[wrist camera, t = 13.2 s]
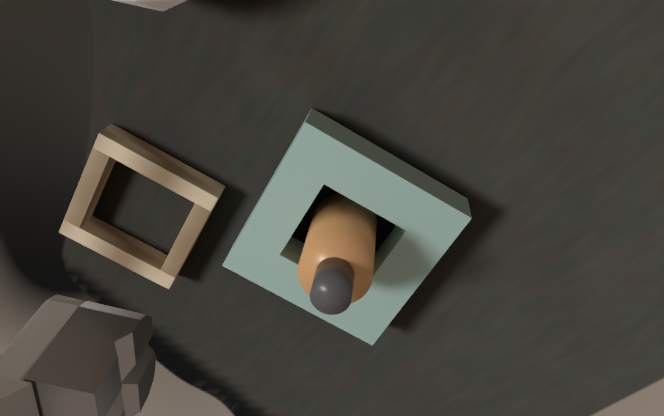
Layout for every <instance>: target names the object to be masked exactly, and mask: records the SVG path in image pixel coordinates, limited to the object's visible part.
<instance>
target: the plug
mask: <svg viewBox="0 0 664 416" xmlns="http://www.w3.org/2000/svg"><path fill="white" fill-rule="evenodd" d="M376 232H377V217H376V214H375V213H374V212H372V211H370V210H369V209H367V208H365V207H363V206H362V205H360V204H358V203H356V202H355V201H353V200H351V199H349V198H347V197H346V196H344V195H342V194H340V193H336V194H332V195H330V196H328V197H326V198H324V199H323V200H322V201H321V202H320V203H319V204H318V205H317V207H316V209H315V211H314V214H313V217H312V220H311V224H310V227H309V231H308V234H307V237H306V241H305V244H304V247H303V251H302V254H301V257H300V261H299V264H298V278H299V282H300V284H301V286H302V288H303V289H304V290H305V292H306V293H307V294H308V295H309V296H310V300H311V303H312V305H313V306H314V307H315V308H316V309H317V310H318V311H320V312H322V313H324V314H328V315H336V314H340V313H342V312H344V311H345V310H347V309H348V307H349V306H350V304H351V303H354V302H356V301H358V300H359V299H361V298H362V297H363V296H364V295H365V294H366V293H367V292H368V290H369V288H370V286H371V284H372V279H373V268H374V256H375V244H376Z"/></svg>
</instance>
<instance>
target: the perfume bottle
mask: <svg viewBox="0 0 664 416" xmlns="http://www.w3.org/2000/svg"><path fill="white" fill-rule="evenodd" d="M113 1H118V2H122V3H127V4H132V5H136V6H141V7H145V8H150V9H155V10H159V11H165V10H167V9H169V8H172V7H174V6H176V5H178V4H180V3H182V2H185V1H187V0H113Z"/></svg>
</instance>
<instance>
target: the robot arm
mask: <svg viewBox="0 0 664 416" xmlns="http://www.w3.org/2000/svg"><path fill="white" fill-rule="evenodd" d="M152 334H153V325H152V317H150V316H148V315H145V314H140V313H136V312H132V311H128V310H123V309H119V308H115V307H110V306H106V305H102V304H98V303H93V302H88V301H83V300H78V299H73V298H70V297H65V296H60V295H55V296H53V297H51V298H50V299H48V300H46V301H45V303H44V304H43V305H42V306H41V307H40V309H39V310H38V311H37V312H36V313H35V315H34V316H33V317H32V318H31V319H30V321H29V322H28V323H27V324H26V325H25V327H24V328H23V329H22V330H21V331H20V332H19V334H18V335H17V336H16V337H15V338H14V340H13V341H12V342H11V343H10V345H9V346H8V347H7V348H6V349H5V350H4V352H3V353H2V354H1V355H0V416H134V415H136V414H137V413H139V412H140V411H141V409H142V407H143V405H144V403H145V401H146V399H147V397H148V395H149V391H150V388H151V385H152V382H153V379H154V372H155V352H154V351H153V350H152V349H151V348H150V346H149V345H148V344H147V343H148V342H149V340H150V338H151V336H152Z"/></svg>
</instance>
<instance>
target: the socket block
mask: <svg viewBox="0 0 664 416" xmlns="http://www.w3.org/2000/svg"><path fill="white" fill-rule="evenodd" d="M323 185H326V186H328V187H330V188H332V189H333V190H335V191H337V192H339V193H340V194H342V195H344V196H346V197H347V198H349V199H351V200H353V201H355V202H356V203H358V204H360V205H362V206H363V207H365V208H367V209H369V210H370V211H372V212H374V213H376V214H378V215H379V216H381V217H383V218H385V219H386V220H388V221H390V222H392V223H393V224H395V225H396V226H395V227H394V228H393V230H392V231H391V232H390V234H389V235H388V237H387V238H386V239H385V241H384V242H383V244H382V245H381V246H380V248H379V249H378V251H377V252H376V253H375V256H374V268H373V279H372V284H371V286H370V288H369V290H368V292H367V293H366V294H365V295H364V296H363V297H362V298H361V299H359V300H358V301H356V302H354V303H351V304H350V306H349V307H348V309H347V310H345V311H344V312H342V313H340V314H336V315H328V314H324V313H322V312H320V311H318V310H317V309H316V308H315V307H314V306H313V305H312V303H311V300H310V296H309V295H308V294H307V293H306V292H305V290H304V289H303V288H302V286H301V284H300V282H299V278H298V264H299V261H300V257H301V254H302V251H303V247H304V244H305V243H303V242H301V241H299V240H297V239H295V238H294V237H292V234H293V233H294V231H295V230H296V228H297V226H298V225H299V223H300V222H301V220H302V218H303V217H304V215H305V214H306V212H307V210H308V209H309V207H310V206H311V204H312V202H313V201H314V199H315V198H316V196H317V194H318V193H319V191H320V190H321V188H322V186H323ZM471 219H472V217H471V212H470V208H469V203H468V199H467V198H466V197H464V196H462V195H461V194H459V193H457V192H455V191H454V190H452V189H450V188H449V187H447V186H445V185H443V184H442V183H440V182H438V181H436V180H435V179H433V178H431V177H430V176H428V175H426V174H424V173H423V172H421V171H419V170H418V169H416V168H414V167H412V166H411V165H409V164H407V163H406V162H404V161H402V160H400V159H399V158H397V157H395V156H394V155H392V154H390V153H388V152H387V151H385V150H383V149H382V148H380V147H378V146H376V145H375V144H373V143H371V142H370V141H368V140H366V139H364V138H363V137H361V136H359V135H358V134H356V133H354V132H352V131H351V130H349V129H347V128H345V127H344V126H342V125H340V124H339V123H337V122H335V121H333V120H332V119H330V118H328V117H327V116H325V115H323V114H321V113H320V112H318V111H316V110H315V109H313V108H311V110H310V112H309V114H308V115H307V117H306V119H305V121H304V122H303V124H302V126H301V127H300V129H299V131H298V133H297V134H296V136H295V138H294V140H293V141H292V143H291V145H290V147H289V148H288V150H287V152H286V154H285V155H284V157H283V159H282V161H281V162H280V164H279V166H278V167H277V169H276V171H275V173H274V174H273V176H272V178H271V180H270V181H269V183H268V185H267V187H266V188H265V190H264V192H263V194H262V195H261V197H260V199H259V201H258V202H257V204H256V206H255V207H254V209H253V211H252V213H251V214H250V216H249V218H248V220H247V221H246V223H245V225H244V227H243V228H242V230H241V232H240V234H239V235H238V237H237V239H236V240H235V242H234V244H233V246H232V248H231V250H230V252H229V254H228V256H227V258H226V259H225V261H224V263H223V265H222V266H224V267H226V268H228V269H229V270H231V271H233V272H235V273H237V274H239V275H241V276H243V277H244V278H246V279H248V280H250V281H252V282H254V283H256V284H258V285H260V286H261V287H263V288H265V289H267V290H269V291H271V292H273V293H275V294H277V295H278V296H280V297H282V298H284V299H286V300H288V301H290V302H292V303H293V304H295V305H297V306H299V307H301V308H303V309H305V310H307V311H309V312H310V313H312V314H314V315H316V316H318V317H320V318H322V319H324V320H325V321H327V322H329V323H331V324H333V325H335V326H337V327H339V328H341V329H342V330H344V331H346V332H348V333H350V334H352V335H354V336H356V337H357V338H359V339H361V340H363V341H365V342H367V343H369V344H371V345H373V344H374V343H375V341H376V340H377V339H378V338H379V336H380V335H381V334H382V333H383V331H384V330H385V329H386V327H387V326H388V325H389V324H390V322H391V321H392V320H393V318H394V317H395V316H396V315H397V313H398V312H399V311H400V310H401V308H402V307H403V306H404V304H405V303H406V302H407V301H408V299H409V298H410V297H411V295H412V294H413V293H414V292H415V290H416V289H417V288H418V286H419V285H420V284H421V283H422V281H423V280H424V279H425V278H426V276H427V275H428V274H429V272H430V271H431V270H432V269H433V267H434V266H435V265H436V263H437V262H438V261H439V260H440V258H441V257H442V256H443V255H444V253H445V252H446V251H447V249H448V248H449V247H450V246H451V244H452V243H453V242H454V240H455V239H456V238H457V237H458V235H459V234H460V233H461V232H462V230H463V229H464V228H465V226H466V225H467V224H468V223H469V221H470V220H471Z"/></svg>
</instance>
